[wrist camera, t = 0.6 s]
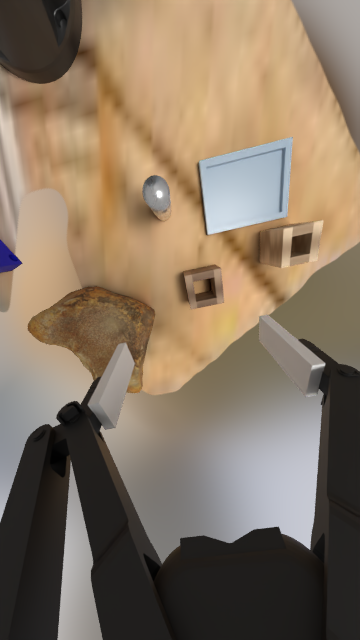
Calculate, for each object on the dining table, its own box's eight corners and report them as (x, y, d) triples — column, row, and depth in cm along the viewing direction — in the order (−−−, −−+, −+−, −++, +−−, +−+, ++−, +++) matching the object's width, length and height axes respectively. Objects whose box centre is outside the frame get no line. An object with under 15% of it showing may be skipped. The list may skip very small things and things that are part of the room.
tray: (198, 163, 28) (199, 160, 27) (287, 141, 27) (292, 136, 26) (206, 234, 33) (207, 234, 32) (283, 217, 32) (287, 216, 31)
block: (259, 231, 33) (283, 229, 26) (290, 224, 33) (323, 220, 25) (259, 262, 36) (281, 268, 28) (288, 256, 35) (317, 260, 28)
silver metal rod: (153, 204, 31) (139, 179, 18) (169, 200, 30) (166, 172, 18) (157, 222, 32) (147, 211, 19) (173, 218, 32) (172, 205, 19)
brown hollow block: (183, 271, 36) (184, 276, 31) (215, 264, 36) (221, 268, 31) (188, 301, 39) (190, 309, 34) (218, 295, 39) (224, 302, 34)
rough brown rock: (183, 328, 42) (187, 370, 29) (136, 362, 46) (121, 412, 33) (112, 252, 34) (72, 261, 21) (63, 301, 38) (3, 335, 25)
